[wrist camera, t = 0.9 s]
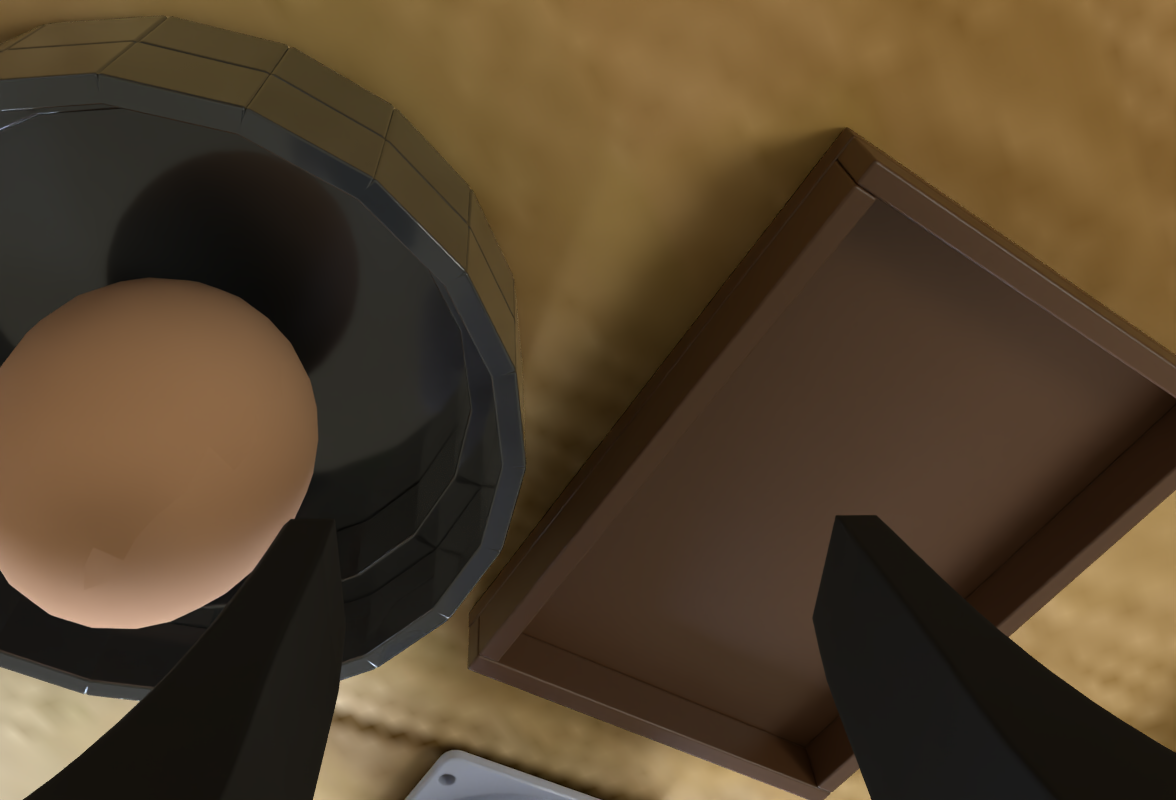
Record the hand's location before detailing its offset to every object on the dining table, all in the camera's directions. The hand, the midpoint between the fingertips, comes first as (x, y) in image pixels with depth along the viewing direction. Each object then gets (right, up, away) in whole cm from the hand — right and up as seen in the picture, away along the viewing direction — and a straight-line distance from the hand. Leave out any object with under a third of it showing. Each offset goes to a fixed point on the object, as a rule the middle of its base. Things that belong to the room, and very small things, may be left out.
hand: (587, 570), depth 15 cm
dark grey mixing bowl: (-9, +4, +9) cm, 13 cm away
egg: (-9, +4, +8) cm, 13 cm away
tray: (+6, 0, +12) cm, 14 cm away
